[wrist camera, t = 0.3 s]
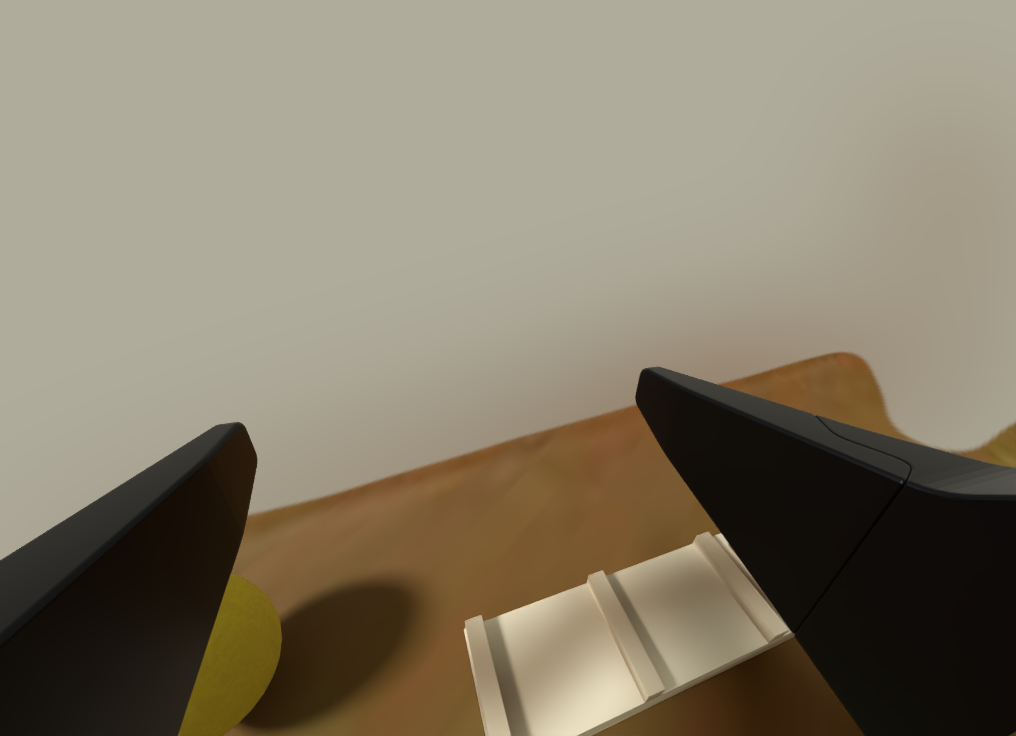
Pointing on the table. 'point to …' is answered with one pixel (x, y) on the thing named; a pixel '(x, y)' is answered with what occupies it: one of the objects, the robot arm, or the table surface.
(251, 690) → the lemon
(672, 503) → the table surface
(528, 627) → the rail
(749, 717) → the table surface
